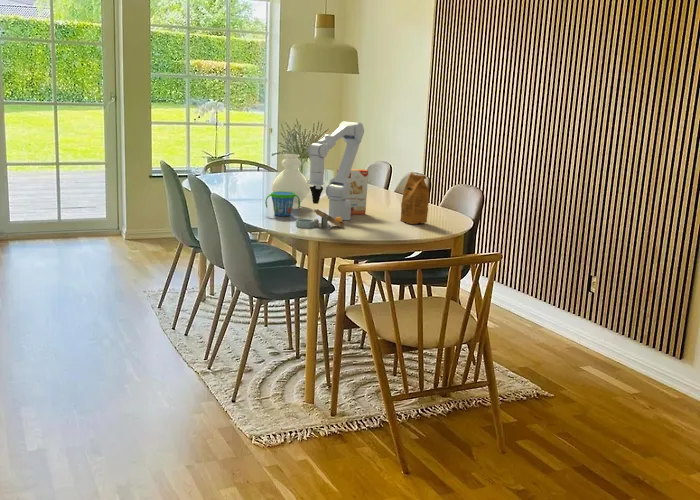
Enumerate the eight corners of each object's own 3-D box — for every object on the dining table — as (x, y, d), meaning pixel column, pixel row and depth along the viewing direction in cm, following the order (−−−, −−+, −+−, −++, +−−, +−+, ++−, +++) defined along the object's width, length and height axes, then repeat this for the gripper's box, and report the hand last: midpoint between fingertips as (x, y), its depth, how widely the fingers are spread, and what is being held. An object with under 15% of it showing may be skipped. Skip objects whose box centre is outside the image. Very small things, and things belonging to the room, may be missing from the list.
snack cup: (265, 216, 332) (265, 194, 330) (265, 212, 343) (265, 190, 340) (300, 217, 334) (300, 195, 332) (299, 213, 344) (300, 191, 342)
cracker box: (337, 214, 346) (339, 169, 342) (334, 212, 352) (336, 168, 347) (366, 214, 350) (368, 170, 345) (362, 212, 356) (364, 168, 351)
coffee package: (416, 219, 344) (419, 171, 340) (429, 224, 333) (433, 175, 328) (397, 220, 340) (400, 171, 336) (409, 225, 329) (413, 175, 324)
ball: (340, 223, 320) (340, 216, 319) (342, 224, 317) (343, 217, 317) (333, 222, 319) (334, 216, 318) (336, 224, 316) (337, 217, 315)
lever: (337, 223, 327) (340, 218, 327) (341, 228, 316) (344, 223, 315) (312, 209, 324) (315, 204, 324) (315, 214, 313) (318, 208, 312)
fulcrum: (328, 224, 322) (329, 212, 321) (331, 228, 313) (331, 216, 312) (313, 224, 321) (313, 212, 320) (315, 228, 312) (316, 216, 311)
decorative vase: (303, 211, 351) (304, 157, 346) (266, 208, 355) (268, 155, 349) (312, 205, 368) (314, 154, 363) (277, 202, 372) (279, 152, 366)
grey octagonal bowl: (312, 224, 320) (312, 219, 320) (314, 228, 313) (314, 222, 312) (295, 224, 319) (295, 218, 318) (296, 227, 312) (297, 222, 311)
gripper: (305, 169, 324) (304, 200, 327) (309, 173, 310) (308, 206, 313) (322, 170, 326) (320, 200, 328) (326, 174, 312) (324, 206, 315)
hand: (315, 203), depth 321 cm, fingers closed
